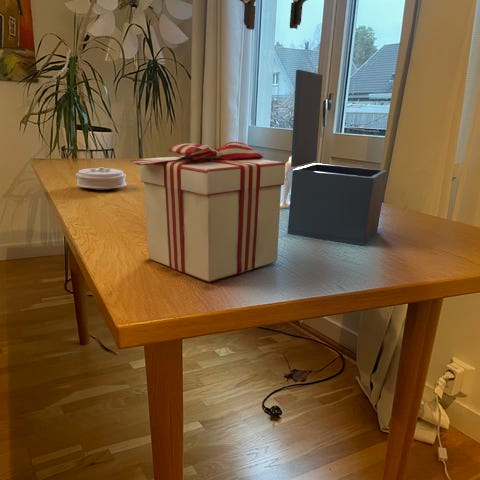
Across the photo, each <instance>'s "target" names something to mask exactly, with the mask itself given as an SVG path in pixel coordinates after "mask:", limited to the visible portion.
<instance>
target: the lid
mask: <svg viewBox="0 0 480 480" xmlns="http://www.w3.org/2000/svg"><path fill="white" fill-rule="evenodd" d="M75 177H76V179H77V183H76V186H77V187H80V188H86V189H92V190H101V191H103V190H105V191H106V190H107V191H108V190H112V189H116V188H124V187H126V186H127V182H126V177H127V174H126V173H125V172H124V171H123V170H122V169H119V168H118V169H117V168H108V167H106V168H105V166H98V167H93V168H91V167H90V168H83V169H79V170H78V172H76V173H75Z"/></svg>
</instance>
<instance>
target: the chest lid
mask: <svg viewBox="0 0 480 480" xmlns="http://www.w3.org/2000/svg"><path fill="white" fill-rule="evenodd" d="M323 76H324V75H323V74H321V73H317V72H313V71H308V70H303V69H296V70H295V83H294V84H295V85H294V99H293V100H294V101H293V102H294V103H293V104H294V105H293V121H292V124H293V125H292V140H291V155H292V157H291V156H290V157H291V167H296V166H303V165H308V164H312V163H315V162H317V157H318V145H319V144H318V143H319V132H320V131H319V130H320V116H321V103H322V90H323V89H322V88H323Z"/></svg>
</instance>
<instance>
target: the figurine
mask: <svg viewBox="0 0 480 480" xmlns="http://www.w3.org/2000/svg"><path fill="white" fill-rule="evenodd" d="M291 157H292V154H291V155H290V157H288V161H286V162H285V184H284V185H283V191H282V198H281V201H280V209H288V208H289V207H290V200H288V198H289V199H290V196H291V185H292V173H293V169H296V168H300V167H302V165H300V166H296V167H291ZM288 196H289V197H288ZM287 200H288V201H287Z"/></svg>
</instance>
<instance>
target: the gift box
mask: <svg viewBox="0 0 480 480" xmlns="http://www.w3.org/2000/svg"><path fill="white" fill-rule="evenodd" d="M168 151H169V152H172V153H175V154H177V155H174V156H163V157H150V158H141V159H130V160H128V161H129V162H131V163H133V164H134V165H137V166H139V172H140V182H142V183H143V188H144V189H143V190H144V205H145V206H144V207H145V208H144V209H145V224H146V226H145V227H146V239H147V240H146V241H147V242H146V243H147V258H148V260H151V261H153V262H156V263H159V264H161V265H163V266H166V267H168V268H171V269H173V270H174V271H175V270H176V271H178V272H181V273H183V274H186V275H189V276H191V277H193V278H196V279H198V280H200V281H204V282H207V283H211V282H216V281H218V280H221V279H224V278H228V277H231V276H235V275H239V274H243V273H244V272H248V271H252V270H255V269H258V268H261V267H264V266H268V265H270V264H274V263H277V262H278V251H279V235H280V234H279V232H280V217H281V208H280V203H281V199H282V198H281V196H282V195H281V194H282V186H284V185H285V164H286V162H284V161H279V160H278V161H277V160H271V159H264V156H263V155H262V154H261V153H259V152H258V151H256V150H255V149H253V148H252V147H250V146H249V145H248V144H246V143H244V142H241V141H230V142H229V141H228V142H227V143H224V144H223V146H221V147H218V148H216V149H214V148H211V146H209V145H208V144H204V143H178V144H174V145H171V146H170V147H169V148H168ZM178 154H179V155H178Z"/></svg>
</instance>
